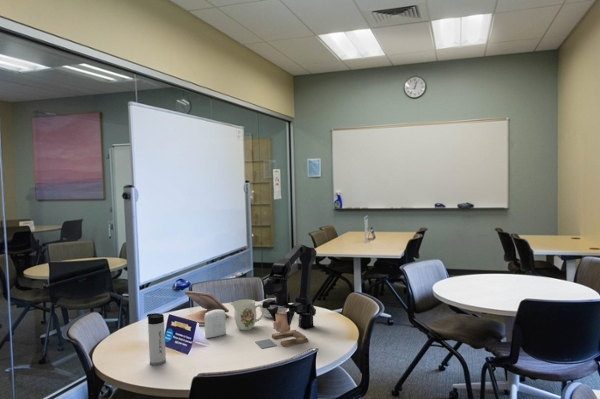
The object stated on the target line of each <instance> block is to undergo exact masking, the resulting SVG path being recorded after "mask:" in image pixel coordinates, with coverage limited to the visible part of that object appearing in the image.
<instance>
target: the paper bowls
mask: <svg viewBox="0 0 600 399" xmlns="http://www.w3.org/2000/svg"><path fill="white" fill-rule="evenodd" d="M268 299H271V300H275V301H276V297H272V298H266V299H263V300H261V301H260V302H259V304H261V305H262V303H263V302H264V301H266V300H268ZM267 309H268V308H264V315H263V316H265V318H270V319H273V318H272V316H271V314H270V313H269V311H268V310H267ZM259 311H260V313H261V314H262V309H261V307H259ZM282 311H285V312H288V311H289V309H288V308H281V307H278V310H277V312H282Z"/></svg>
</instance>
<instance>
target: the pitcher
mask: <svg viewBox="0 0 600 399" xmlns="http://www.w3.org/2000/svg"><path fill="white" fill-rule="evenodd" d="M228 304H229V305H231V306H232V307H233V308H234V311H233V312H234V314H233V317H234V322H235V324H236V326H237V328H238V329H239V330H240V331H249V330H252V329H253V328H254V326H255V324H256V323H257V322H259V321H260V320H262V319H263V317H264V316H265V315H264V308H262V305H261V304H260V303H257V304H256V300H253V299H247V298H245V299H238V300H234V301H230V302H228ZM255 304H256V305H255ZM258 307H259V308H260V307H261V309H262V313H261V314H260V315H259V317H257V310H256V309H257V308H258Z"/></svg>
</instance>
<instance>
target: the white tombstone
mask: <svg viewBox="0 0 600 399" xmlns="http://www.w3.org/2000/svg"><path fill="white" fill-rule="evenodd" d="M225 314H226V312H225V311H224V310H212V311H209V312H207V313H205V326H204V335H205V336H204V337H205V338H206V339H210V338H214V337H220V336H224V335H227V328H226V327H227V325H226V318H227V317H225Z"/></svg>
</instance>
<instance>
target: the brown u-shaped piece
mask: <svg viewBox="0 0 600 399" xmlns="http://www.w3.org/2000/svg"><path fill="white" fill-rule="evenodd" d="M287 337H294V338H291V339H286V340H281V341H280V345H281V347H283V348H286V347H290V346H294V345H299V344H305V343H308V342H309V338H308V337H307V336H306V335H305V334H303V333H302V332H300V331H299V330H298V331H297V329H290V331H288V332H277V333H272V334H271V338H272V339H274V340H277V339H283V338H287Z"/></svg>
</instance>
